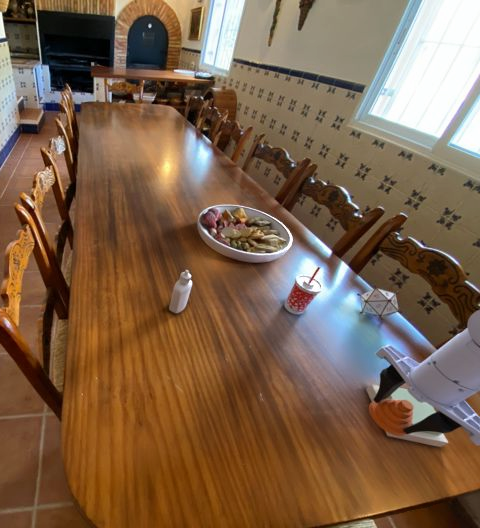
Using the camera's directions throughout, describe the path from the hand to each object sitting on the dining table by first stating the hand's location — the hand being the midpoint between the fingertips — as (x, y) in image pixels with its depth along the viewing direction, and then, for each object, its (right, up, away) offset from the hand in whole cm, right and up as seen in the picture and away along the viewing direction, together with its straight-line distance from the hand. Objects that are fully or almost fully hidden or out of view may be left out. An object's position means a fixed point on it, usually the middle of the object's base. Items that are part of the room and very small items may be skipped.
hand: (393, 414), depth 49 cm
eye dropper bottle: (-31, +14, +26) cm, 43 cm away
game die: (+20, +12, +29) cm, 37 cm away
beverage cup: (-1, +13, +28) cm, 31 cm away
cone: (0, -1, +1) cm, 1 cm away
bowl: (-6, +33, +52) cm, 62 cm away
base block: (+9, -4, +8) cm, 13 cm away
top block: (+9, -3, +7) cm, 11 cm away
